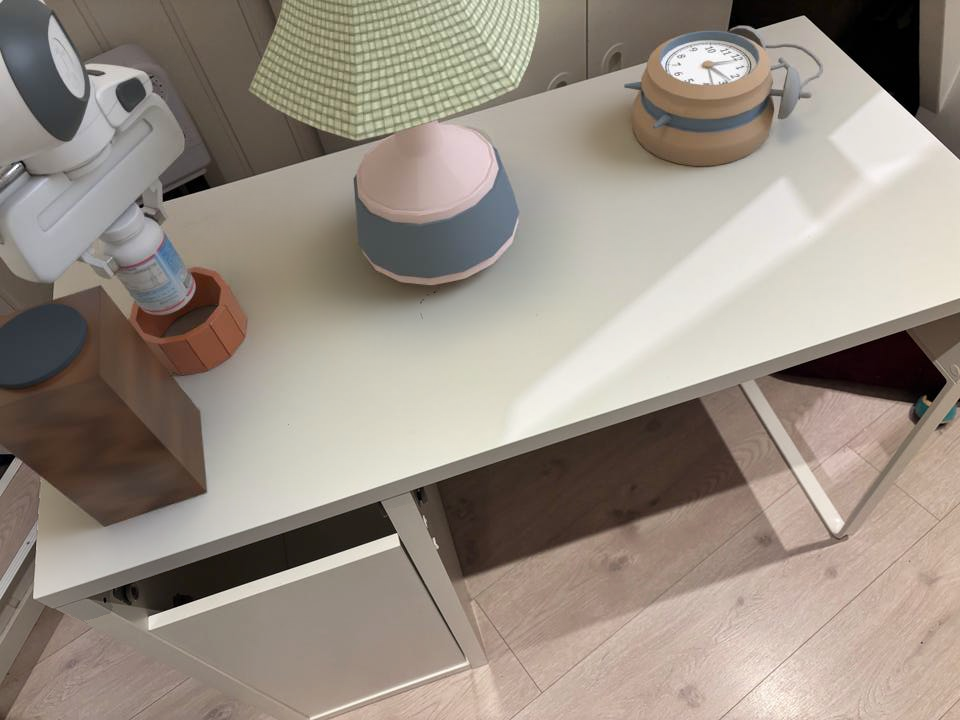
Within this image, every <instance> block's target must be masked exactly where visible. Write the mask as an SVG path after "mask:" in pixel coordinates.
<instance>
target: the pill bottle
mask: <svg viewBox="0 0 960 720" xmlns="http://www.w3.org/2000/svg"><path fill="white" fill-rule="evenodd" d="M141 209H142V208H141V207H140V206H139V205H138V203H137V202H136V201H134V202H133V203H132V204H131V205H130V206H129V207H128V208H127V209H126V210H125V211H124V212H123V213H122V214H121V215H120V216H119V217H118V218H117V219H116V220H115V221H114V222H113V223H112V224H111V225H110V226H109V227H108V228H107V229H106V230H105V232H104V233H103V234H102V235H101V236H100V237H99V238H98V239H97V240H99V243H98V244H99V245H98V247H99V248H98V249H99V253H101V254H104V255H105V256H106V255H109V256H113V257H114V259H115V260H116V262H117V264H118V265H119V266H120V267H121V269H120V270H119V271H118V272H117V273H116V274H115V276H116V277H117V279H118V280H119V281H120V283H121V284H122V286H124V288H125V289H126V290H127V292H128V293H129V295H130V296H131V298H132V299H133V300H134V301H136V303H137V304H138V305H139V307H140V308H141V309H142V310H143V311H145V312H147V313H149V314H153V315H166V314H170V313H173V312H175V311H177V310H179V309H181V308H182V307H183V306H185V305H186V304H187V303H188V302H189V301H190V299H191V298H192V296H193V295H194V292H195V288H196V285H195V281H194V278H193V277H192V275H191V273H190V272H189V270H188V269H187V268H188V267H187V266H186V264H185V262H184V261H183V259H182V258H181V257H180V255H179V253H178V251H177V250H176V249H175V247H174V245H173V244H172V243H171V240H170V239H169V238H168V236H167V234H166V233H165V231H164V229H163V228H162V227H161V226H160V225H159V224H158V223H157V222H156V221H154V220H153V219H151V218H148V217H144V214H143V212H142V211H141Z"/></svg>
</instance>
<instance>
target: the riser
mask: <svg viewBox="0 0 960 720" xmlns="http://www.w3.org/2000/svg"><path fill="white" fill-rule="evenodd" d="M48 304H62V305H67V306H70V307H72V308H74V309H75V310H77V311H78V312H79V313H80V314H81V316H82V317H83V318H84V320H85V322H86V325H87V337H86V340H85V343H84V345H83V347H82V349H81V351H80V352H79V354H78V355H77V356H76V358H75V359H74V360H73V361H72V362H71V363H70V364H69V365H68V366H67V367H66V368H65V369H63V370H62V371H61V372H59V373H58V374H56V375H55V376H53V377H51V378H50V379H48V380H46V381H44V382H42V383H39V384H36V385H34V386H30V387H26V388H18V389H10V388H4V387H0V446H1V447H3V448H4V449H6V450H7V451H8V452H9V453H11V454H12V455H13V456H14V457H15V458H17V459H18V460H19V461H21V462H22V463H23V464H24V465H26V466H27V467H28V468H29V469H31V471H33V472H35V473H36V474H37V475H38V476H40V477H41V478H42V479H44V481H46V482H47V483H49V484H50V485H51V486H52V487H54V488H55V489H56V490H57V491H59V492H60V493H61V494H62V495H63V496H65V497H66V498H68V499H69V500H70V501H71V502H72V503H74V504H75V505H76V506H78V507H79V508H80V509H82V510H83V511H84V512H85V513H86V514H88V515H89V516H90V517H91V518H93V519H94V520H95V521H96V522H98V523H99V524H100V525H101V526H102V527H107V526H110V525H114V524H116V523H119V522H122V521H125V520H128V519H131V518H135V517H137V516H140V515H143V514H147V513H149V512H153V511H155V510H159V509H161V508H165V507H166V506H167V507H168V506H171V505H173V504H176V503H179V502H182V501H185V500H189V499H192V498H194V497H197V496H200V495H202V494H206V493H208V486H207V477H206V476H207V475H206V464H205V451H204V441H203V429H202V419H201V418H202V417H201V411H200V409H199V408H198V406H196V404H195V403H194V401H193V400H192V399H191V398H190V396H189V395H188V394H187V393H186V391H185V390H184V388H182V386H181V385H180V384H179V383H178V382H177V380H176V379H175V378H174V376H173V375H172V374H171V371H168V370H167V369H166V367H165V366H164V365H163V364H162V362H161V361H160V360H159V358H158V357H157V356H156V355H155V353H154V352H153V351H152V350H151V348H150V347H149V346H148V344H147V343H146V342H145V341H144V339H143V338H142V337H141V336H140V334H139V333H138V332H137V330H136V329H135V328H134V327H133V325H132V324H131V323H130V322H129V319H128V318H127V317H126V315H125V314H124V313H123V312H122V310H121V309H120V308H119V306H118V305H117V304H116V302H115V301H114V300H113V299H112V298H111V296H110V295H109V294H108V293H107V291H106V290H105V289H104V287H103V286H102V285H101V284H100V285H96V286H93V287H90V288H86V289H83V290H80V291H76V292H74V293H70V294H67V295H64V296H61V297H58V298H54V299H51V300H48V301H44V302H42V303H38V304H35V305H31V306H28V307H25V308H22V309H19V310H16V311H11V312H8V313H5V314H2V315H0V328H1V327H2V326H3V325H4V324H5V323H7V322H8V321H9V320H11V319H12V318H14V317H15V316H17V315H19V314H21V313H23V312H25V311H27V310H29V309H32V308H35V307H38V306H42V305H48Z"/></svg>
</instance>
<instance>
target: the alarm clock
mask: <svg viewBox="0 0 960 720" xmlns="http://www.w3.org/2000/svg"><path fill="white" fill-rule="evenodd" d="M780 48H792V49H793V48H794V49H797V50H800V51H802V52H803V53H805V54H807V56H809V57H810V58H812V59H813V61H814V62H815V63H816V64H817V66H818V67H819V71H818V72H817V73H816V74H814V75H812V76H810V77H808V78H807V79H805V80H804V81H803V82H802V83H801V76H800V73H799V71H798V69H797V68H795V67H793V66H792V65H791V64H790V63H789V62H788V61H787V60H786V59H785V58H783V57H779V58H778V64H774V65H772V64H771V58H770V55H768V53H767V51H766V49H780ZM646 63H647V65H646V67H645V69H644V72H643V74H642V76H641V81H635V82H630V83H624V84H623V88H624V89H630V90H636V91H638V92H637V95H636V96H635V99H634V102H633V104H632V105H633V106H632V131H633V133H634V136H635V138H636V140H637V142H638V143H639V144H640V145H641V146H642V147H643V148H644V149H645V150H646V151H647V152H649V153H651V154H652V155H655V156H656V157H657V158H660V159H662V160H665V161H667V162H671V163H674V164H679V165H685V166H692V167H702V166H703V167H707V166H708V167H709V166H717V165H723V164H729V163H732V162H735V161H738V160H740V159H743V158H745V157H748V156H749V155H750V154H752V153H754V152H755V151H757V150H758V149H759V148H760V147H761V146H762V145H763V144H764V142H766V140H767V139H768V137H769V134H770V131H771V128H772V123H773V119H774V114H775V103H774V99H773V98H774V97H781V98H780V103H779V109H778V114H777V119H778V120H785V119H787V118H788V117H790V115H792V113H793V112H794V110H795V108H796V106H797V103H798V101H800V100H801V99H810V98H812V97H813V93H812V92H811V91H802V90H803V88H804V87H805V86H806V85H808V83H810V82H811V81H813V80H817V79H818V78H819V77H820V76H821V75H822V74H823V72H824V64H823V63H822V61H821V60H820V59H819V57H818V56H817V55H816V54H815V53H813V52H812V51H811V50H810V49H808V48H806V47H805V46H803V45H801V44H797V43H787V42H785V43H778V44H766V41H765V39H764V37H763V35H762V34H761V33H760V32H759V31H758V30H757V29H755V28H753V27H752V26H750V25H737V26H735V27H732V28H730V29H729V30H728V31H723V30H722V31H721V30H699V31H694V32H693V31H692V32H689V33H685V34H680V35H679V36H675V37H673V38H670V39H668V40H666V41H665V42H663V43H662V44H660V45H658V46H657V47H656V49H654V50H653V51H652V52H651V53H650V55H649V57H648V60H647V62H646ZM783 68H784V69H785V70H786V75H785V79H784V84H783V87H782V89H776V88H775V89H774V88H773V84H774V81H773V80H774V79H773V74H772V71H774V70H778V69H783Z"/></svg>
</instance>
